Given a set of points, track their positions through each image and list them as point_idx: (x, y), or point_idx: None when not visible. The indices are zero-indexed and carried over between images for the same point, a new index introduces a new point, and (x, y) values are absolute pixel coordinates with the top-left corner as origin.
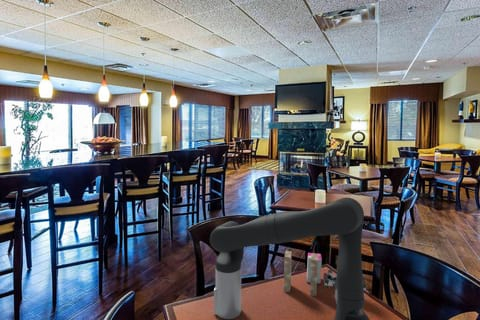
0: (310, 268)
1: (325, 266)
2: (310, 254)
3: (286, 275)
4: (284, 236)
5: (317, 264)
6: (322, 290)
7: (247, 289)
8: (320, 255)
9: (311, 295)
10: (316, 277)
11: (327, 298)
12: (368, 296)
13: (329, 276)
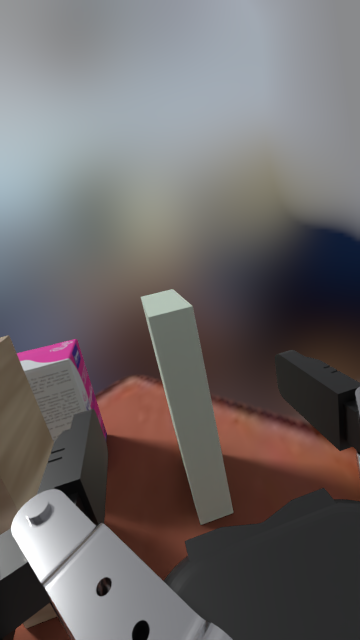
0: None
1: (130, 376)
2: (22, 357)
3: None
4: None
5: (57, 392)
6: (114, 515)
7: None
8: (71, 344)
9: (35, 624)
10: (12, 511)
11: None
12: (324, 442)
13: (30, 573)
